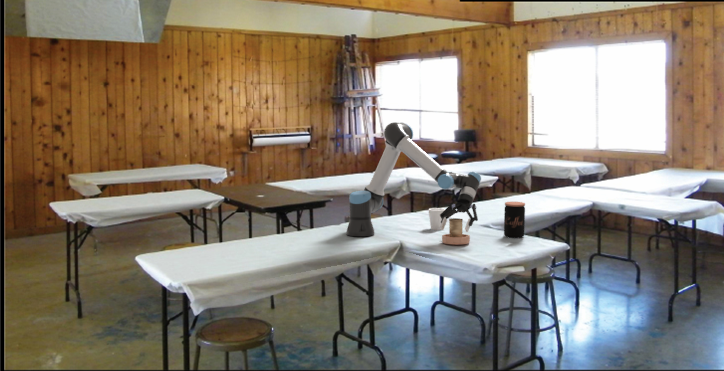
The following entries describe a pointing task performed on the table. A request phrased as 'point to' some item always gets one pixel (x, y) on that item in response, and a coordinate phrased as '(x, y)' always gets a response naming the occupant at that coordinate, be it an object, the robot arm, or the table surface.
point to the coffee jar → (514, 219)
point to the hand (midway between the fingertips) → (453, 229)
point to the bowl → (455, 239)
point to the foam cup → (435, 218)
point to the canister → (455, 227)
